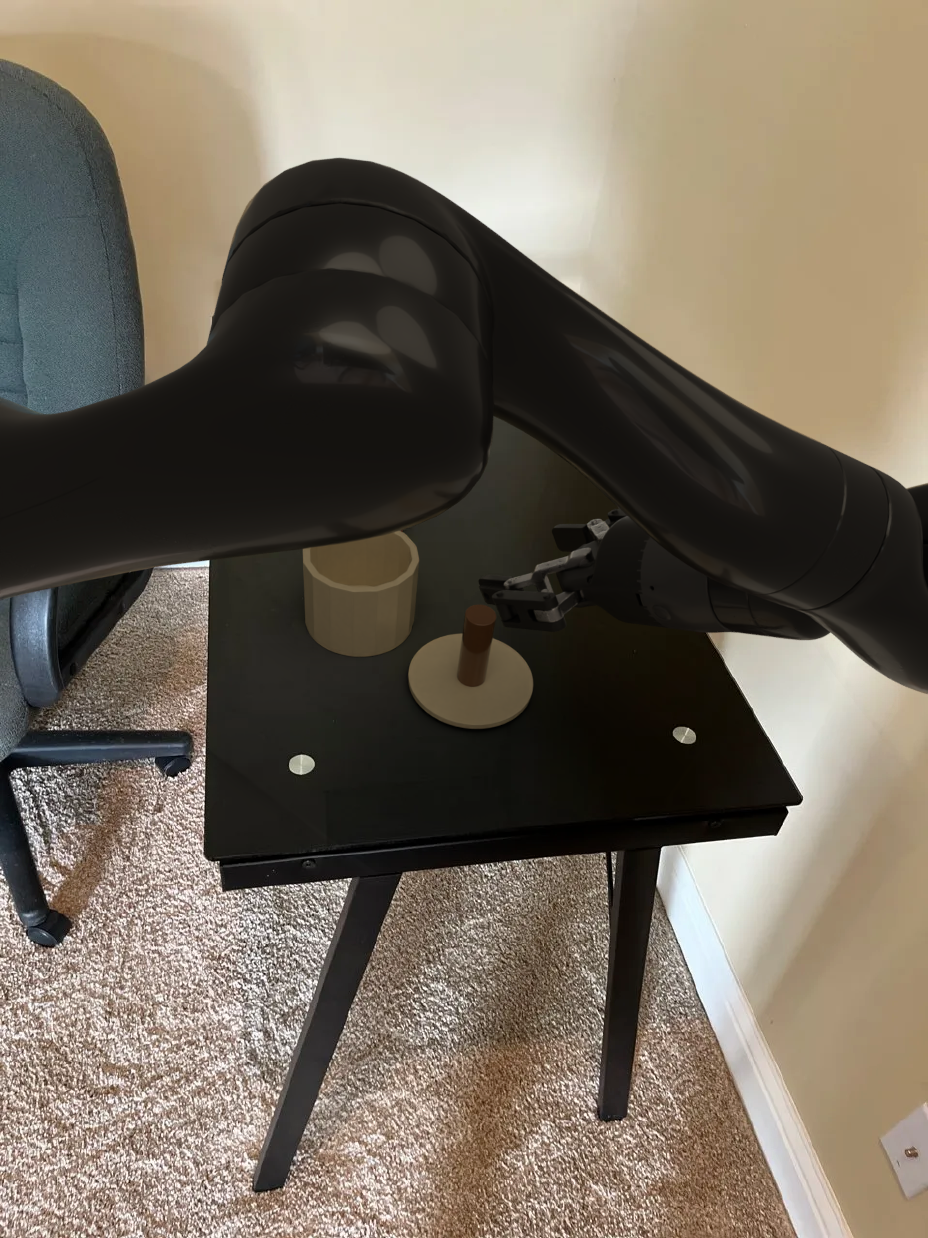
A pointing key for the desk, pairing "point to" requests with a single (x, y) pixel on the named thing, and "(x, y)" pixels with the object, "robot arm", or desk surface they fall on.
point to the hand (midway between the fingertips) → (521, 562)
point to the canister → (361, 594)
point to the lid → (471, 675)
